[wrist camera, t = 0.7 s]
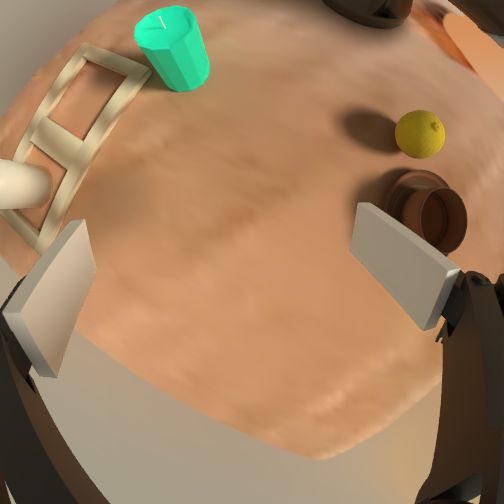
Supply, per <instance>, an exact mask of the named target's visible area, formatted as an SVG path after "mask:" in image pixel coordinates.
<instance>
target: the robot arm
mask: <svg viewBox="0 0 504 504" xmlns="http://www.w3.org/2000/svg"><path fill="white" fill-rule="evenodd" d="M323 1H324V2H325V3H326V4H327V5H328V6H330V7H331V8H332V9H333V10H335V11H336V12H338V13H340V14H341V15H343V16H345V17H347V18H349V19H351V20H353V21H355V22H358V23H361V24H364V25H367V26H371V27H375V28H394V27H397V26H399V25H401V24H402V23H403V22H404V21H405V19H406V18H407V17H408V16H409V14H410V12H411V7H412V2H413V0H323ZM448 1H449V2H451V3H452V4H453V5H454V6H456V7H457V8H458V9H459V10H460V11H462V12H463V13H464V14H465V15H466V16H468V17H469V18H470V19H471V20H472V21H473V22H474V23H475V24H476V25H477V26H478V28H480V30H481V31H483V32H484V33H486V34H487V35H489V36H490V37H491V38H492V39H493V40H494V41H495V42H496V43H497V44H498V45H499V46H501V47H502V48H504V0H448ZM349 251H350V252H351V253H352V254H353V255H354V256H355V257H356V258H357V259H358V260H359V261H360V262H361V263H362V264H363V265H364V266H365V267H366V269H367V270H368V271H369V272H370V273H371V274H372V275H373V276H374V277H375V278H376V279H377V280H378V281H379V282H380V284H381V285H382V286H383V287H384V288H385V289H386V290H387V291H388V292H389V293H390V294H391V296H392V297H393V298H394V299H395V300H396V301H397V302H398V303H399V305H400V306H401V307H402V308H403V309H404V310H405V311H406V312H407V314H408V315H409V316H410V317H411V318H412V319H413V321H414V322H415V323H416V324H417V325H418V326H419V328H420V329H421V330H422V331H425V330H428V329H431V328H434V327H436V325H437V322H438V320H439V318H440V316H441V315H442V316H443V317H444V318H445V319H446V320H445V322H444V324H443V326H442V328H441V330H440V332H439V334H438V336H437V338H436V340H435V342H438V340H439V338H441V337H443V339H442V341H441V344H443V374H442V394H441V407H440V417H439V426H438V433H437V440H436V447H435V452H434V459H433V463H432V468H431V472H430V474H429V476H428V478H427V479H426V481H425V482H424V484H423V485H422V487H421V489H420V490H419V492H418V495H417V498H416V501H415V504H473V503H470V502H468V501H469V500H471V499H473V498H475V497H477V496H479V495H481V496H480V502H479V504H504V274H500V275H499V278H498V280H497V282H496V284H492V283H491V282H490V280H489V279H488V278H487V277H485V276H484V275H483V274H481V273H478V272H475V271H468V272H466V274H465V273H463V272H462V271H461V270H460V268H459V267H458V266H457V265H456V264H454V263H453V262H452V261H451V260H449V259H448V258H447V257H446V256H444V255H443V254H442V253H441V252H439V251H438V250H437V249H435V248H434V247H433V246H431V245H430V244H429V243H427V242H426V241H425V240H423V239H422V238H421V237H419V236H418V235H417V234H415V233H414V232H412V231H411V230H410V229H408V228H407V227H405V226H404V225H402V224H401V223H400V222H398V221H397V220H395V219H394V218H392V217H391V216H389V215H388V214H386V213H385V212H383V211H382V210H380V209H379V208H377V207H376V206H374V205H373V204H371V203H358V204H357V211H356V217H355V223H354V229H353V234H352V240H351V245H350V250H349ZM96 272H97V269H96V265H95V261H94V257H93V253H92V249H91V245H90V241H89V236H88V232H87V227H86V222H85V219H80V220H72V221H70V222H69V223H68V224H67V226H66V227H65V228H64V229H63V230H62V231H61V233H60V234H59V235H58V236H57V237H56V238H55V240H54V241H53V242H52V243H51V245H50V246H49V247H48V248H47V250H46V251H45V252H44V253H43V255H42V256H41V257H40V258H39V260H38V261H37V262H36V264H35V265H34V266H33V268H32V269H31V270H30V272H29V273H28V275H26V276H25V277H24V278H22V279H21V280H20V281H19V282H18V283H17V285H16V286H15V287H14V289H13V290H12V292H11V293H10V295H9V296H8V299H6V301H5V302H4V304H3V305H2V307H1V308H0V504H11V501H10V498H9V495H8V491H7V487H6V484H7V486H8V488H9V490H10V492H11V494H12V496H13V498H14V500H15V502H16V504H110V503H109V502H108V500H107V499H106V498H105V497H104V496H103V494H102V493H101V492H100V491H99V490H98V488H97V487H96V485H95V484H94V483H93V482H92V480H91V479H90V478H89V476H88V475H87V473H86V472H85V471H84V469H83V468H82V467H81V465H80V464H79V462H78V461H77V459H76V458H75V456H74V455H73V453H72V451H71V450H70V448H69V447H68V445H67V444H66V442H65V440H64V439H63V437H62V435H61V434H60V432H59V430H58V428H57V427H56V425H55V423H54V421H53V419H52V417H51V416H50V414H49V412H48V410H47V408H46V406H45V404H44V402H43V400H42V398H41V396H40V394H39V391H38V389H37V387H36V385H35V383H34V380H33V379H32V377H31V376H30V374H29V371H30V368H31V365H32V366H33V367H34V369H35V370H36V372H37V373H38V374H39V376H43V377H53V378H57V376H58V372H59V369H60V366H61V363H62V360H63V356H64V353H65V351H66V348H67V345H68V342H69V339H70V336H71V333H72V331H73V328H74V325H75V323H76V320H77V317H78V315H79V312H80V310H81V307H82V305H83V302H84V300H85V298H86V295H87V293H88V290H89V288H90V286H91V284H92V281H93V279H94V277H95V275H96ZM5 482H6V483H5Z"/></svg>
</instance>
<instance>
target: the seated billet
mask: <svg viewBox="0 0 504 504" xmlns="http://www.w3.org/2000/svg"><path fill="white" fill-rule="evenodd" d="M52 188H53V179H52V175H51V173H50V171H49V170H48V169H47V168H46V167H43V166H38V165H32V164H27V163H21V162H16V161H10V160H4V159H0V209H37V208H41V207H43V206H44V205H45V204H46V203H47V202H48V200H49V198H50V196H51V193H52Z"/></svg>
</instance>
